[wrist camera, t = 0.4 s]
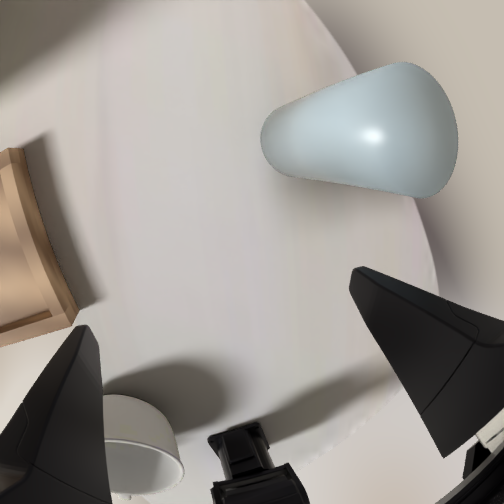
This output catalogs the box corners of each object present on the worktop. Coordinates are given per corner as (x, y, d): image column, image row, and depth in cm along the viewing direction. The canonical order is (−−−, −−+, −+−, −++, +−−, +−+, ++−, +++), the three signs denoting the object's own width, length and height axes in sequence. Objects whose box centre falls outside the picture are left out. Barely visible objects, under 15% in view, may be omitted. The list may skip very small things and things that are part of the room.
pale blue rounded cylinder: (335, 169, 23) (462, 185, 11) (270, 185, 22) (381, 212, 10) (320, 101, 21) (444, 68, 9) (252, 110, 20) (352, 57, 8)
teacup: (87, 363, 22) (70, 426, 15) (191, 397, 26) (203, 460, 19) (70, 438, 24) (62, 490, 17) (152, 462, 28) (157, 512, 21)
